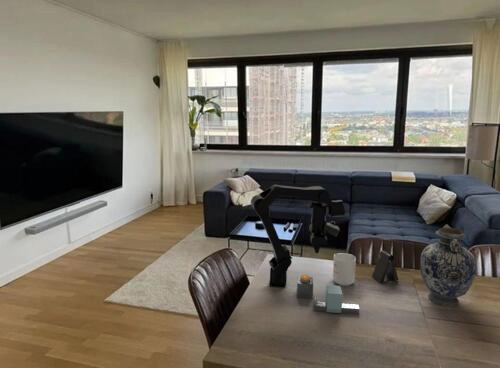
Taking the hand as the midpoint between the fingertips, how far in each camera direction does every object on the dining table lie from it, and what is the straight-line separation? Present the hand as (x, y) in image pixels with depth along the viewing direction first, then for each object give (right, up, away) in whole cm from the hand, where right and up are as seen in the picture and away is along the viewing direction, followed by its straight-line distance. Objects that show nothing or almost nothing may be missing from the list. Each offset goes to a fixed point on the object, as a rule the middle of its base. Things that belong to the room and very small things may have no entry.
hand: (316, 252), depth 149 cm
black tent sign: (+30, -12, +5) cm, 33 cm away
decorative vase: (+46, -16, -12) cm, 50 cm away
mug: (+11, -12, +3) cm, 17 cm away
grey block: (+2, -17, -20) cm, 26 cm away
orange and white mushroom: (-7, -15, -9) cm, 18 cm away
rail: (+3, -17, -20) cm, 26 cm away
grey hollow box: (-7, -15, -9) cm, 18 cm away
